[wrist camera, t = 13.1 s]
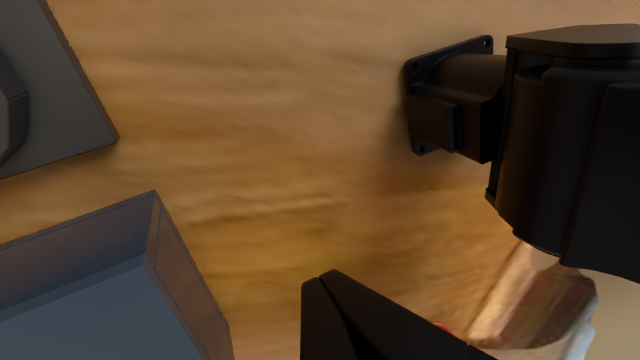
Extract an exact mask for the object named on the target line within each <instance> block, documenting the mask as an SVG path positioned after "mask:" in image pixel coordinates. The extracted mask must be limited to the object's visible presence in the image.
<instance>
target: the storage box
mask: <svg viewBox="0 0 640 360" xmlns="http://www.w3.org/2000/svg"><path fill="white" fill-rule="evenodd" d="M143 256H145V257H146V258H147V260H148V261H149V263H150V265H151V266H152V268H153V270H154V271H155V273H156V274H157V276H158V278H159V279H160V281H161V282H162V284H163V286H164V287H165V289H166V290H167V292H168V294H169V295H170V297H171V298H172V300H173V302H174V303H175V305H176V306H177V308H178V310H179V311H180V313H181V315H182V316H183V318H184V319H185V321H186V323H187V324H188V326H189V327H190V329H191V331H192V332H193V334H194V335H195V337H196V339H197V340H198V342H199V343H200V345H201V347H202V348H203V350H204V351H205V353H206V355H207V356H208V358H209V359H210V360H235V359H234V353H233V346H232V340H231V335H230V329H229V326H228V324H227V322H226V320H225V318H224V316H223V315H222V313H221V311H220V309H219V307H218V305H217V303H216V302H215V300H214V298H213V296H212V294H211V292H210V290H209V289H208V287H207V285H206V283H205V281H204V279H203V277H202V275H201V274H200V272H199V270H198V268H197V266H196V264H195V262H194V261H193V259H192V257H191V255H190V253H189V251H188V249H187V248H186V246H185V244H184V242H183V240H182V238H181V236H180V235H179V233H178V231H177V229H176V227H175V225H174V223H173V221H172V220H171V218H170V216H169V214H168V212H167V210H166V208H165V207H164V205H163V203H162V201H161V199H160V197H159V195H158V194H157V192H156V190H152V191H149V192H147V193H144V194H141V195H138V196H135V197H133V198H130V199H127V200H124V201H121V202H119V203H116V204H113V205H110V206H107V207H105V208H102V209H99V210H96V211H93V212H91V213H88V214H85V215H82V216H79V217H77V218H74V219H71V220H68V221H65V222H63V223H60V224H57V225H54V226H52V227H49V228H46V229H43V230H40V231H38V232H35V233H32V234H29V235H26V236H24V237H21V238H18V239H15V240H12V241H10V242H7V243H4V244H1V245H0V313H1V312H3V311H6V310H9V309H11V308H14V307H16V306H19V305H21V304H24V303H26V302H29V301H31V300H34V299H36V298H39V297H41V296H44V295H47V294H49V293H52V292H54V291H57V290H59V289H62V288H64V287H67V286H69V285H72V284H74V283H77V282H80V281H82V280H85V279H87V278H90V277H92V276H95V275H97V274H100V273H102V272H105V271H107V270H110V269H113V268H115V267H118V266H120V265H123V264H125V263H128V262H130V261H133V260H135V259H138V258H140V257H143Z"/></svg>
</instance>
